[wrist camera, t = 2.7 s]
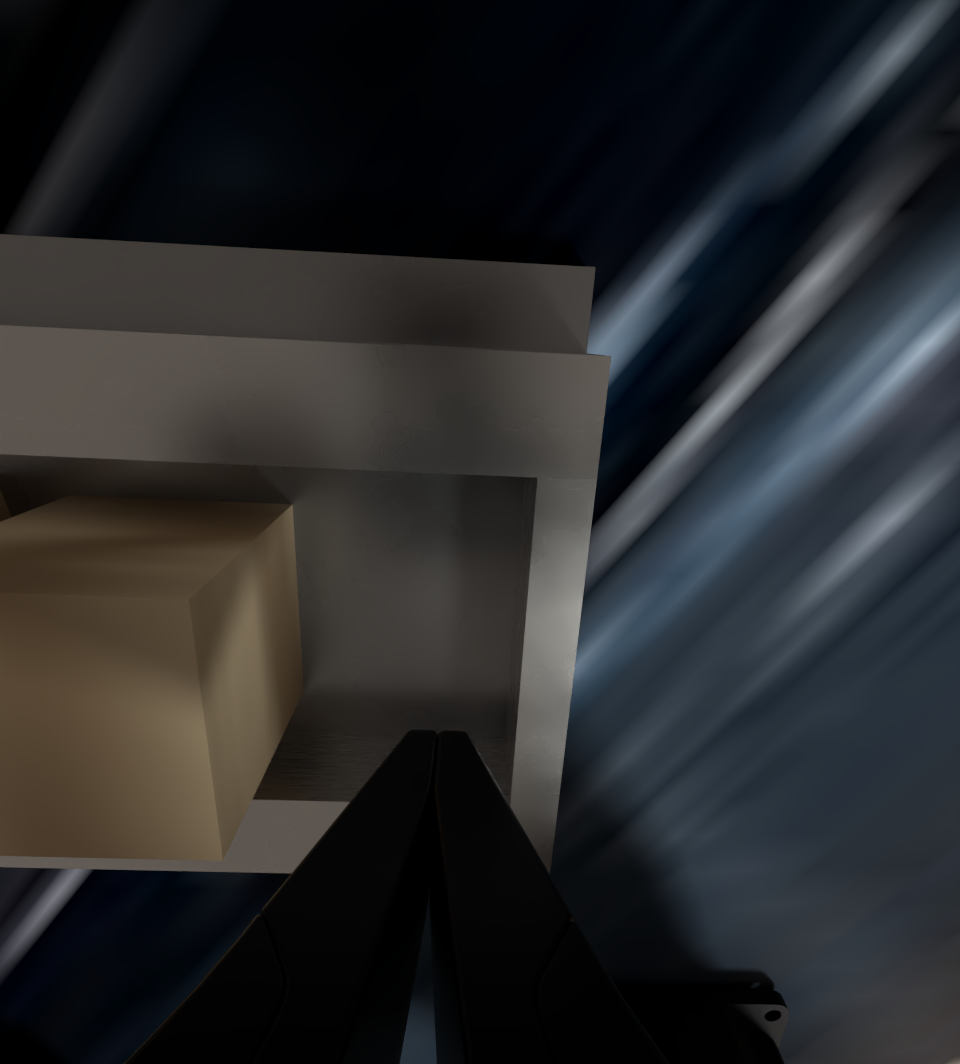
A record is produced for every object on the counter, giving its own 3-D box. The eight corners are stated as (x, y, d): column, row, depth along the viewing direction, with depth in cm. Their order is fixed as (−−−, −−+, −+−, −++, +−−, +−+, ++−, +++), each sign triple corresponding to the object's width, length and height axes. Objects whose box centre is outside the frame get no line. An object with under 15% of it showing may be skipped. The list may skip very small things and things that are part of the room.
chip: (292, 504, 12) (188, 599, 7) (303, 690, 13) (222, 861, 9) (69, 495, 11) (-169, 586, 7) (106, 684, 13) (-74, 853, 9)
